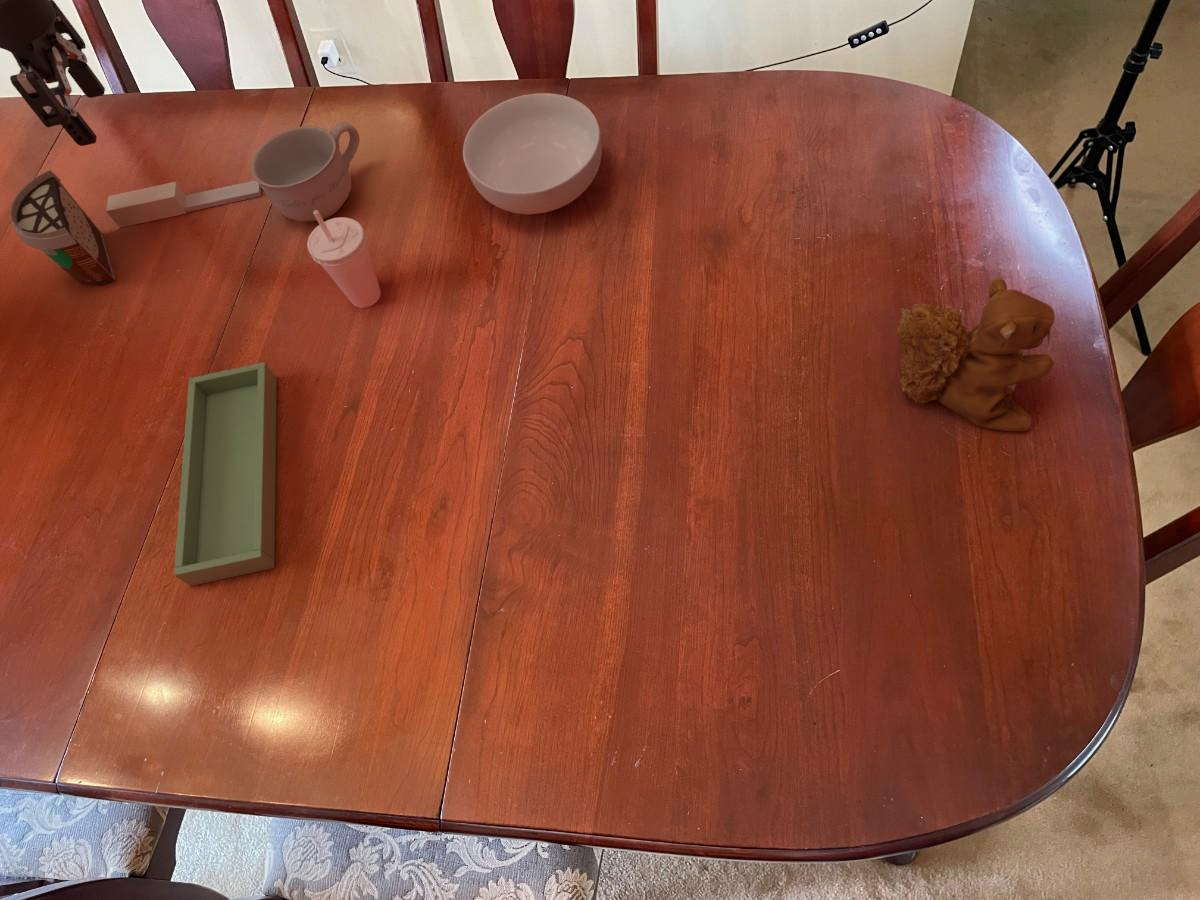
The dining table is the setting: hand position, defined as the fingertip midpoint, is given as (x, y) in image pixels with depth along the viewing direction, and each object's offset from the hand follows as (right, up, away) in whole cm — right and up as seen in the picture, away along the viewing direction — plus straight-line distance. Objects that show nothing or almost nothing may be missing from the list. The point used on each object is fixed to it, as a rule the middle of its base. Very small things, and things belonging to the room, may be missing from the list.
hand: (93, 118), depth 99 cm
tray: (+20, -41, -9) cm, 47 cm away
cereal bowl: (+52, -5, +8) cm, 53 cm away
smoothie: (+31, -20, +2) cm, 37 cm away
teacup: (+24, -6, +11) cm, 27 cm away
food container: (-7, -15, +9) cm, 19 cm away
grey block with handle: (+6, -6, +13) cm, 15 cm away
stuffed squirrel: (+95, -32, -13) cm, 101 cm away
